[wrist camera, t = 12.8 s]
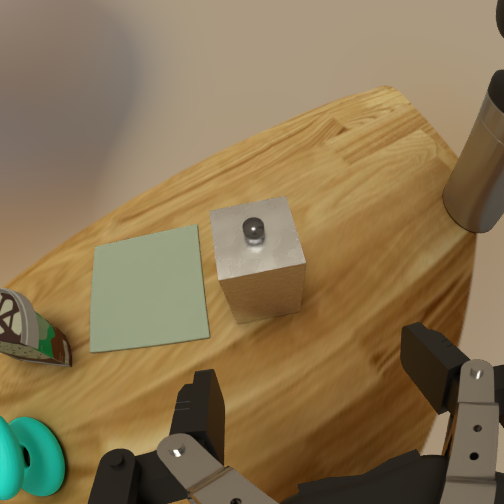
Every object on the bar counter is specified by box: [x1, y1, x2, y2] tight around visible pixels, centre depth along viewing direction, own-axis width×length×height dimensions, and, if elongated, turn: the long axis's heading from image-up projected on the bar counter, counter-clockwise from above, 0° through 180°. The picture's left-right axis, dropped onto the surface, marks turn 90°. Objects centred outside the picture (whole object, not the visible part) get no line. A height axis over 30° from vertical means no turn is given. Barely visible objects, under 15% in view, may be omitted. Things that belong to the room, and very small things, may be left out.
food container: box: [0, 288, 72, 367], centre depth 28 cm, size 12×6×10 cm, turn 93°
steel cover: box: [209, 196, 306, 324], centre depth 29 cm, size 6×6×12 cm
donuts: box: [0, 416, 65, 500], centre depth 20 cm, size 10×10×10 cm
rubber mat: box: [90, 224, 210, 353], centre depth 35 cm, size 14×14×1 cm
